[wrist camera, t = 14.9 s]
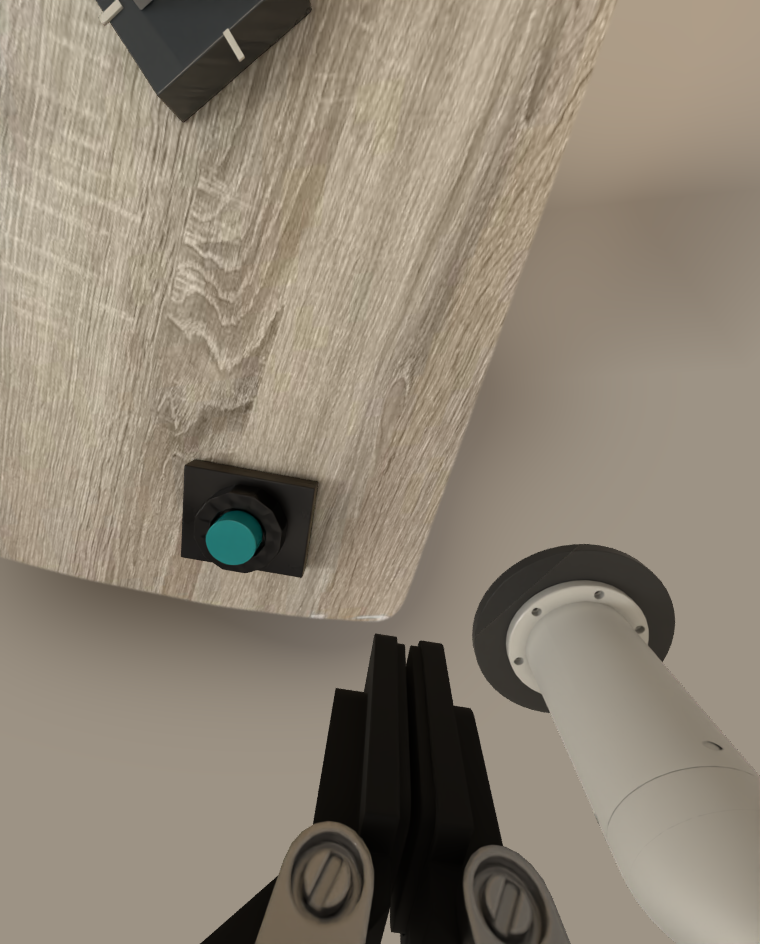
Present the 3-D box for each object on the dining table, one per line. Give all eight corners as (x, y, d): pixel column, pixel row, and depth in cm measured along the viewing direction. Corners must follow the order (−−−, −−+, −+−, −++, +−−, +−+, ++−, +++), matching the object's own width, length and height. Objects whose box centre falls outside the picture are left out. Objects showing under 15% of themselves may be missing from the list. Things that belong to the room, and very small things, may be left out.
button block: (318, 481, 33) (310, 497, 29) (305, 567, 35) (297, 591, 32) (194, 458, 32) (171, 472, 29) (190, 547, 35) (169, 569, 31)
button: (265, 515, 30) (258, 525, 28) (260, 557, 31) (253, 569, 30) (217, 506, 30) (207, 516, 28) (214, 548, 31) (204, 560, 29)
